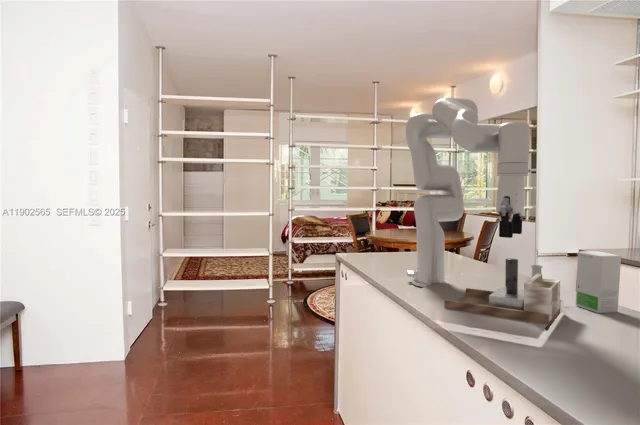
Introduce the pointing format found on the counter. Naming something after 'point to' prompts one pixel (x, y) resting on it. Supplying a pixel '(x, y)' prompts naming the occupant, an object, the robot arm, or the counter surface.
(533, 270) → the flask
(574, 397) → the counter surface
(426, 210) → the robot arm
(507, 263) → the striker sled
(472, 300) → the wooden tray
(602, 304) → the skincare box
